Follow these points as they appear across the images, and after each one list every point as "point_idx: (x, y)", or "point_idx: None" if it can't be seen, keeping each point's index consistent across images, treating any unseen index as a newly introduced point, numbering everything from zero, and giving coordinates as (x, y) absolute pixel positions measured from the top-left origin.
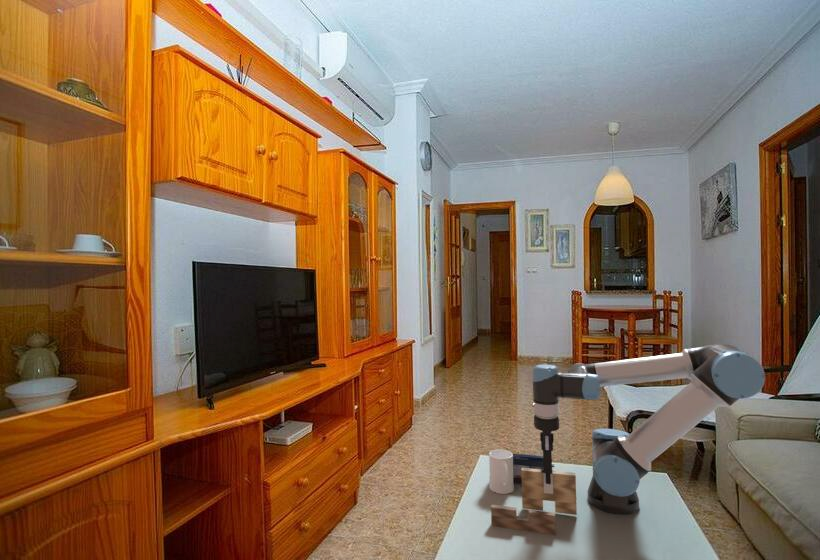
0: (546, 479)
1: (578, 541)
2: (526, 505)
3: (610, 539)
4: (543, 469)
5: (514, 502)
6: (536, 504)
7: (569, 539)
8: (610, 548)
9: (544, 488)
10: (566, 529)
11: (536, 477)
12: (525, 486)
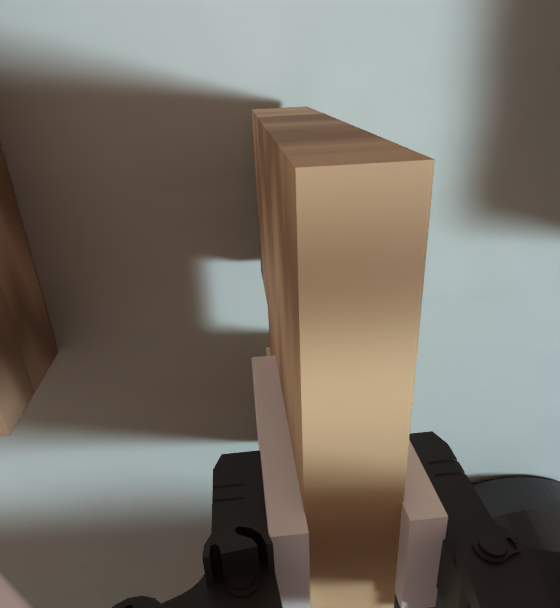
0: (214, 506)
1: (24, 463)
2: (255, 150)
3: (123, 570)
4: (403, 506)
5: (376, 16)
6: (261, 239)
7: (18, 424)
8: (43, 573)
9: (254, 389)
10: (121, 404)
11: (291, 372)
12: (268, 180)
